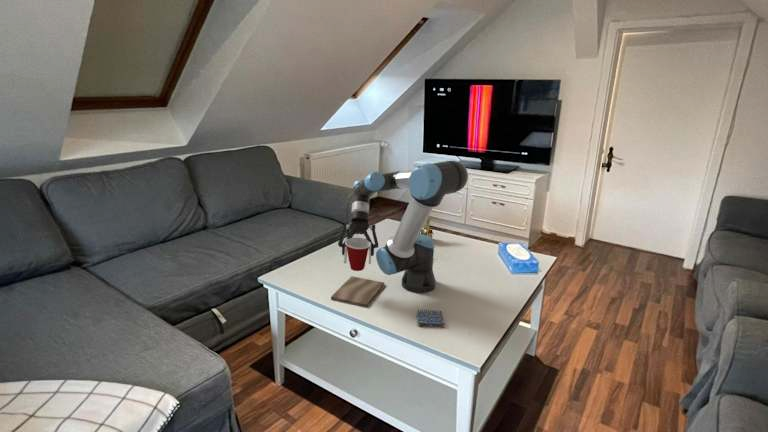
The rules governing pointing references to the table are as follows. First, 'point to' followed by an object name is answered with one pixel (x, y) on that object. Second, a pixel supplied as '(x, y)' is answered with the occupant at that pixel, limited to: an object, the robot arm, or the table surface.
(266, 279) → the table surface
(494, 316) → the table surface
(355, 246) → the plastic cup
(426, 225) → the chocolate bunny
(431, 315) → the woven mat
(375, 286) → the walnut board
